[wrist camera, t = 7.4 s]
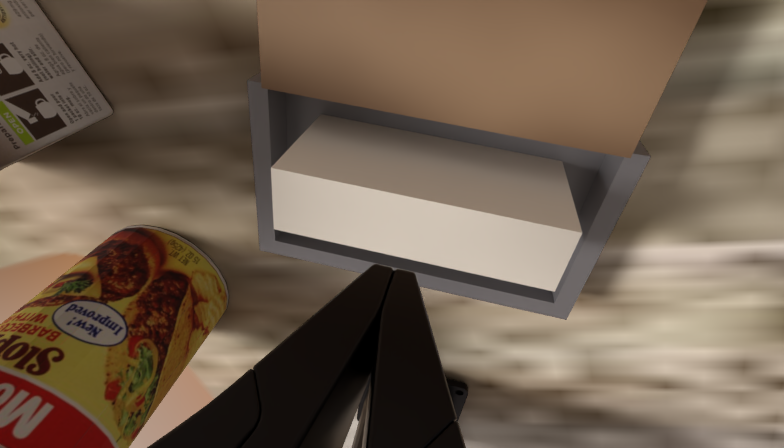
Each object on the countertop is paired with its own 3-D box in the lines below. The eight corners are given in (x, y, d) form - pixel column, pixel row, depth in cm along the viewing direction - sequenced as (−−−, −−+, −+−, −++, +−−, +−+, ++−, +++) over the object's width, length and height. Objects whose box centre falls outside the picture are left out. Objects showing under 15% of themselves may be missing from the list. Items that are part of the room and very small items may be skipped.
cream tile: (562, 161, 17) (542, 212, 19) (321, 114, 18) (319, 166, 20) (582, 232, 13) (554, 291, 15) (270, 167, 14) (273, 229, 16)
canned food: (176, 210, 23) (-52, 413, 14) (252, 314, 27) (115, 533, 17) (81, 240, 26) (-164, 424, 16) (162, 330, 30) (0, 525, 20)
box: (560, 289, 21) (566, 319, 20) (276, 227, 22) (259, 250, 21) (635, 134, 16) (650, 156, 15) (269, 66, 18) (246, 80, 16)
